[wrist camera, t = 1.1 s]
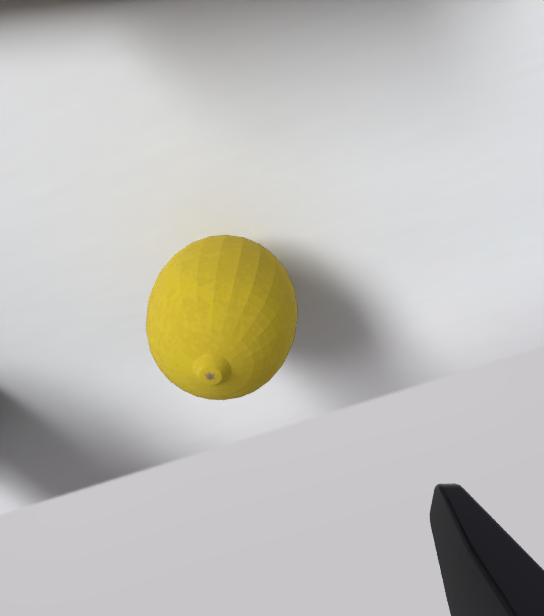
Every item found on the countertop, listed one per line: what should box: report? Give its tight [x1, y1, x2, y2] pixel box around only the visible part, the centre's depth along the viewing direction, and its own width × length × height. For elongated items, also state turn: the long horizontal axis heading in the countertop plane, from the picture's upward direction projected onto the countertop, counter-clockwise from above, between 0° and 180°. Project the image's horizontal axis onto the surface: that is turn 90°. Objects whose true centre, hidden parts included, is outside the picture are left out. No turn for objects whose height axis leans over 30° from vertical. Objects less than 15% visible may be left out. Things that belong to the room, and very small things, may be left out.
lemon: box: [146, 235, 297, 400], centre depth 17 cm, size 6×6×8 cm
